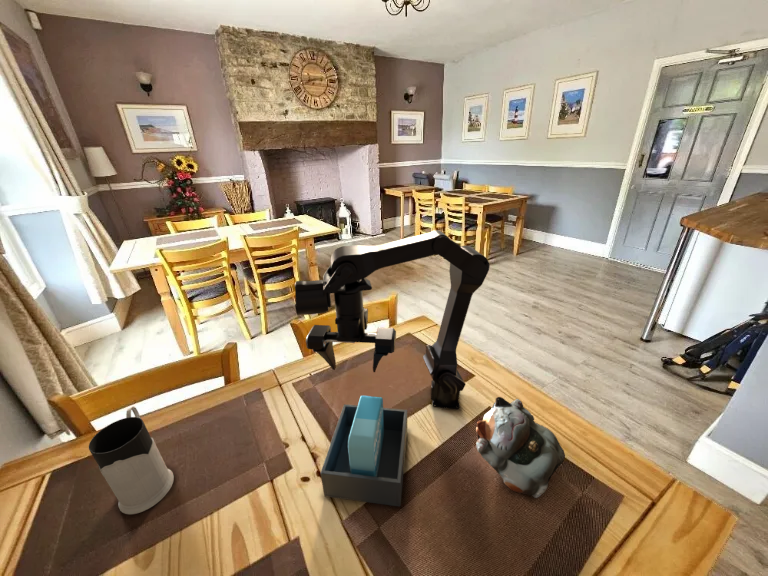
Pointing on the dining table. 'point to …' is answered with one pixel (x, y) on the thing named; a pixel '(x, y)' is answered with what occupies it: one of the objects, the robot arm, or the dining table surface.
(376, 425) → the light blue flat block
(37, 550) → the dining table surface
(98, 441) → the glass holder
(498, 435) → the lucky cat figurine
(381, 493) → the dark grey open box
